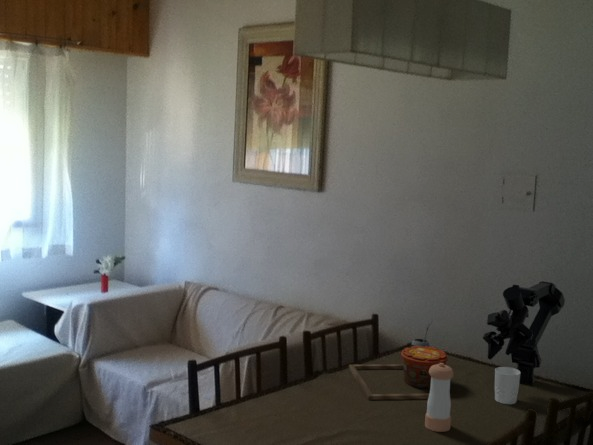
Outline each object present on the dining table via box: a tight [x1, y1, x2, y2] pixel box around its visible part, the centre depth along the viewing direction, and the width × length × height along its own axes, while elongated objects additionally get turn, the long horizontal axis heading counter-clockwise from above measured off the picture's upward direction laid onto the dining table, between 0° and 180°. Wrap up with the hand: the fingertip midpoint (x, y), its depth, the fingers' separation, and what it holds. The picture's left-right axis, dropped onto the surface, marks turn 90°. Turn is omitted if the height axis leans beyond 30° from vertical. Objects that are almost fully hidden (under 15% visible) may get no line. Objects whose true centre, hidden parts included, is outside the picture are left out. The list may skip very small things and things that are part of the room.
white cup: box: [494, 366, 521, 405], centre depth 226 cm, size 8×8×10 cm
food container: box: [400, 346, 449, 390], centre depth 239 cm, size 16×16×11 cm
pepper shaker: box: [424, 363, 455, 433], centre depth 203 cm, size 7×7×19 cm
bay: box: [348, 363, 430, 401], centre depth 239 cm, size 26×30×1 cm
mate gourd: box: [410, 320, 433, 348], centre depth 262 cm, size 8×8×15 cm
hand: (497, 356), depth 225 cm, fingers open, 9 cm apart
